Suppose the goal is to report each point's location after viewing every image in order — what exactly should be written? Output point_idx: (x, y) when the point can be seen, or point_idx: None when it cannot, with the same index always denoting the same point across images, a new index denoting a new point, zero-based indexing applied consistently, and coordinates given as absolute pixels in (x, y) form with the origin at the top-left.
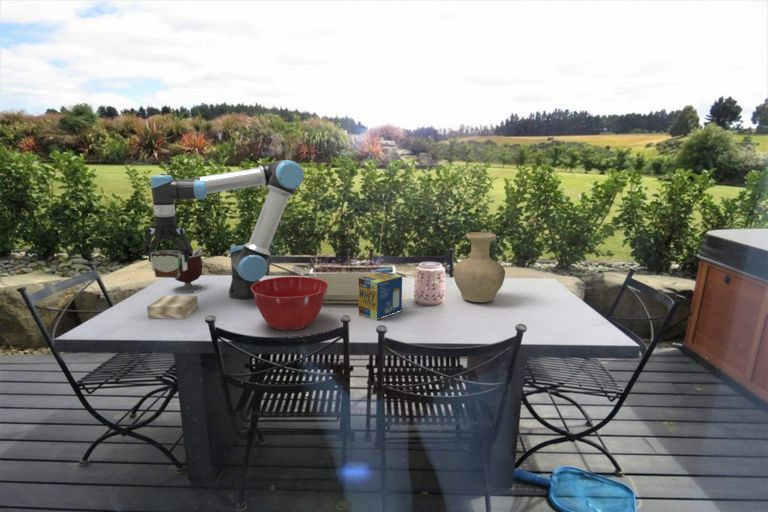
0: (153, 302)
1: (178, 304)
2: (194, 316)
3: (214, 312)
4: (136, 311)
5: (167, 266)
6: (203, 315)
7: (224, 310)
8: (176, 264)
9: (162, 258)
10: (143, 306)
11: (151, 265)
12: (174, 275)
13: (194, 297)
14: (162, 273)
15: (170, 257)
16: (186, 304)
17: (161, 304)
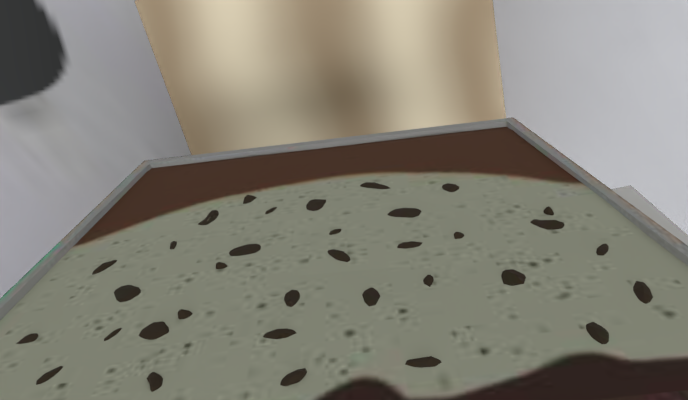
0: (494, 45)
1: (225, 48)
2: (132, 59)
3: (59, 172)
4: (656, 56)
5: (288, 230)
6: (84, 96)
7: (25, 224)
8: (65, 281)
9: (407, 334)
10: (662, 168)
11: (682, 232)
12: (193, 170)
13: None
14: (399, 157)
15: (148, 387)
16: (164, 75)
17: (380, 8)
